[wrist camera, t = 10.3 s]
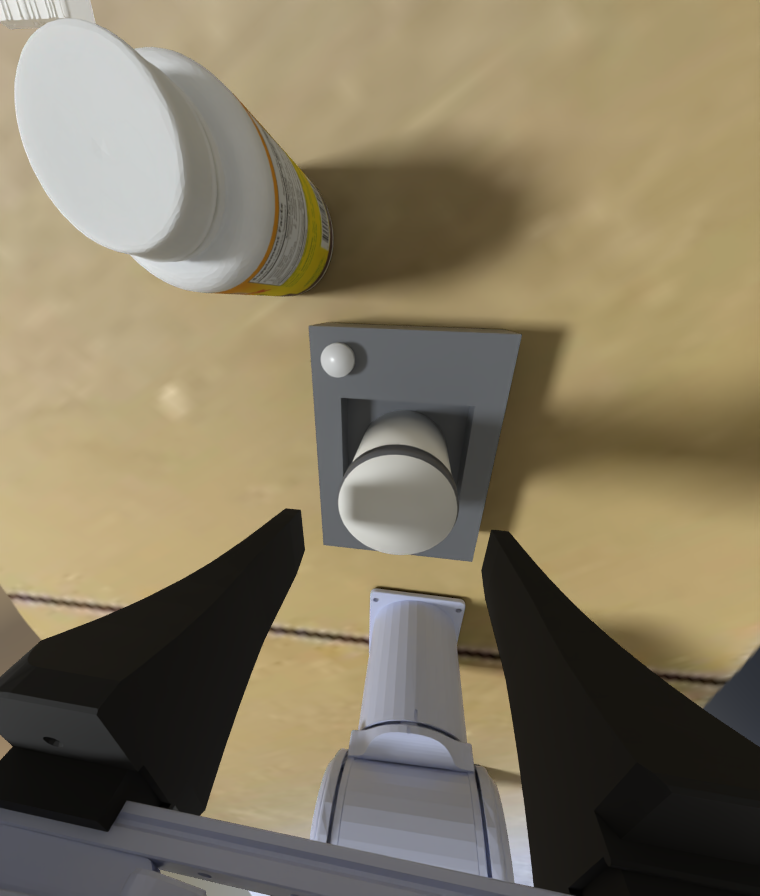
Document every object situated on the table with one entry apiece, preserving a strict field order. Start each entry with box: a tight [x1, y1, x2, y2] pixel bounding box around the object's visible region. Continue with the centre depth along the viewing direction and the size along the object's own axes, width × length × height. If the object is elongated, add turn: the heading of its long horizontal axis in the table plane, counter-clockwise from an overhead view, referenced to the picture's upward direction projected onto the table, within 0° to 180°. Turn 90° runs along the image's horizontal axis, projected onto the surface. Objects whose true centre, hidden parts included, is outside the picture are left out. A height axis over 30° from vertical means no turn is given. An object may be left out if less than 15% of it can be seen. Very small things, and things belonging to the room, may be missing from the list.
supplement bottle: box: [14, 18, 333, 296], centre depth 11 cm, size 6×6×10 cm
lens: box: [337, 410, 459, 555], centre depth 16 cm, size 5×5×6 cm
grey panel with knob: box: [309, 323, 522, 562], centre depth 18 cm, size 14×10×4 cm
